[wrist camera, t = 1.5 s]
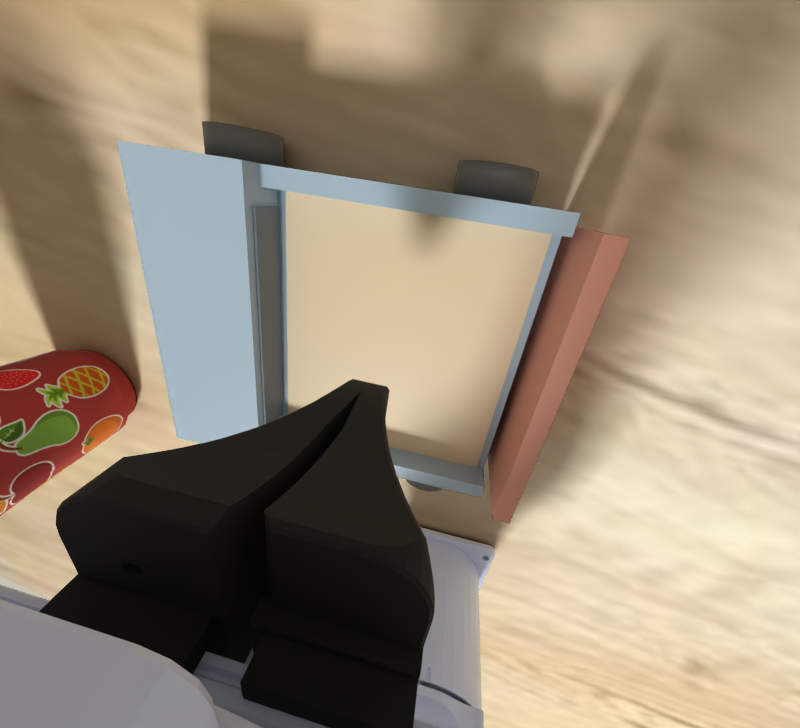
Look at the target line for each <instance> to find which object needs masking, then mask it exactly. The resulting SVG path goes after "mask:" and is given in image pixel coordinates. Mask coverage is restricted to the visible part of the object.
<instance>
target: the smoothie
mask: <svg viewBox="0 0 800 728" xmlns="http://www.w3.org/2000/svg"><path fill="white" fill-rule="evenodd" d="M135 405H136V396H135V392H134V389H133V387H132V384H131V382H130V381H129V379H128V378H127V377H126V375H125V374H124V372H123V371H122V370H121V369H120V368H119V367H118V366H116V365H115V364H114V363H113V362H112V361H110V360H109V359H107V358H106V357H104V356H103V355H100V354H97V353H95V352H92V351H84V350H79V351H74V352H72V351H68V350H55V351H51V352H48V353H44V354H41V355H37V356H34V357H30V358H27V359H23V360H20V361H16V362H13V363H9V364H6V365H2V366H0V516H1V515H2V514H3V513H5V512H6V511H8V510H9V509H10V508H12V507H13V506H14V505H16V504H17V503H19V502H20V501H21V500H23V499H24V498H26V497H27V496H28V495H30V494H31V493H32V492H34V491H35V490H37V489H38V488H39V487H41V486H42V485H44V484H45V483H46V482H48V481H49V480H50V479H52V478H53V477H55V476H56V475H57V474H59V473H60V472H62V471H63V470H64V469H66V468H67V467H68V466H70V465H71V464H73V463H74V462H75V461H77V460H78V459H80V458H81V457H82V456H84V455H85V454H86V453H88V452H89V451H91V450H92V449H93V448H95V447H96V446H98V445H99V444H100V443H102V442H103V441H104V440H106V439H107V438H109V437H110V436H111V435H113V434H114V433H116V432H117V431H118V430H120V429H121V428H122V427H123V426H124V425H125V423H126V420H127V417H128V415H129V414H130V413H132V412H133V411H134V408H135Z"/></svg>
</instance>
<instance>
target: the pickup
mask: <svg viewBox="0 0 800 728" xmlns="http://www.w3.org/2000/svg"><path fill="white" fill-rule="evenodd" d="M202 126H203V136H204V146H205V154H201V153H194V152H188V151H181V150H175V149H168V148H162V147H155V146H149V145H142V144H136V143H130V142H123V141H117V144H118V149H119V153H120V158H121V163H122V168H123V173H124V178H125V183H126V188H127V193H128V198H129V203H130V208H131V213H132V218H133V223H134V228H135V232H136V237H137V242H138V247H139V252H140V257H141V262H142V267H143V272H144V277H145V282H146V287H147V292H148V297H149V302H150V307H151V311H152V316H153V321H154V326H155V331H156V336H157V341H158V346H159V351H160V356H161V361H162V366H163V371H164V376H165V381H166V386H167V390H168V395H169V400H170V405H171V410H172V415H173V420H174V425H175V430H176V435H177V438H181V439H185V440H189V441H193V442H197V443H205V442H209V441H213V440H217V439H221V438H225V437H228V436H231V435H234V434H238V433H241V432H244V431H247V430H250V429H253V428H256V427H259V426H262V425H264V424H267V423H269V422H272V421H275V420H277V419H279V418H282V417H284V416H286V415H288V414H291V413H292V412H294V411H296V410H298V409H300V408H302V407H304V406H306V405H308V404H310V403H312V402H314V401H316V400H318V399H319V398H321V397H323V396H324V395H326V394H328V393H330V392H331V391H333V390H335V389H336V388H338V387H340V386H341V385H343V384H344V383H346V382H348V381H350V380H351V379H355V380H360V381H364V382H369V383H373V384H378V385H383V386H387V387H388V389H389V390H390V391H389V397H388V404H387V411H386V418H385V420H386V432H387V438H388V444H389V449H390V453H391V457H392V461H393V465H394V468H395V471H396V475H397V477H399V478H403V479H406V480H407V482H409V483H410V484H411V485H413V486H414V487H416V488H418V489H421V490H425V491H438V490H442V489H447V490H451V491H455V492H459V493H463V494H467V495H471V496H475V497H479V498H481V495H482V493H483V490H484V470H483V468H484V465H485V462H486V459H487V456H488V453H489V450H490V447H491V445H492V442H493V439H494V436H495V433H496V430H497V427H498V424H499V421H500V418H501V415H502V412H503V409H504V406H505V403H506V400H507V397H508V394H509V391H510V388H511V385H512V382H513V380H514V377H515V374H516V371H517V368H518V365H519V362H520V359H521V356H522V353H523V350H524V347H525V344H526V341H527V338H528V335H529V332H530V329H531V326H532V323H533V320H534V317H535V314H536V312H537V309H538V306H539V303H540V300H541V297H542V294H543V291H544V288H545V285H546V282H547V279H548V276H549V273H550V270H551V267H552V264H553V261H554V258H555V255H556V252H557V249H558V246H559V244H560V241H561V238H562V236H566V237H573V234H574V231H575V228H576V226H577V223H578V220H579V217H580V214H581V213H576V212H569V211H563V210H557V209H550V208H544V207H537V206H531V205H530V204H531V201H532V197H533V194H534V190H535V187H536V183H537V180H538V176H539V172H538V171H536V170H533V169H529V168H525V167H521V166H516V165H510V164H504V163H497V162H488V161H476V160H463V161H459V163H458V168H457V173H456V179H455V184H454V189H453V193H447V192H440V191H434V190H428V189H421V188H415V187H408V186H402V185H395V184H389V183H382V182H376V181H369V180H363V179H357V178H350V177H344V176H337V175H331V174H324V173H318V172H311V171H305V170H298V169H292V168H286V167H284V141H283V138H282V137H280V136H277V135H274V134H271V133H267V132H264V131H259V130H255V129H251V128H246V127H241V126H236V125H230V124H224V123H217V122H207V121H204V122H202Z"/></svg>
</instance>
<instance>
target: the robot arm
mask: <svg viewBox="0 0 800 728" xmlns="http://www.w3.org/2000/svg"><path fill="white" fill-rule="evenodd" d="M389 391H390V390H389V389H388V387H387V386H383V385H378V384H373V383H369V382H364V381H360V380H355V379H351V380H350V381H348V382H346V383H344V384H343V385H341V386H340V387H338V388H336V389H335V390H333V391H331V392H330V393H328V394H326V395H324V396H323V397H321V398H319V399H318V400H316V401H314V402H312V403H310V404H308V405H306V406H304V407H302V408H300V409H298V410H296V411H294V412H292V413H291V414H288V415H286V416H284V417H282V418H279V419H277V420H275V421H272V422H269V423H267V424H264V425H262V426H259V427H256V428H253V429H250V430H247V431H244V432H241V433H238V434H234V435H231V436H228V437H225V438H221V439H217V440H213V441H209V442H205V443H201V444H197V445H192V446H188V447H183V448H178V449H173V450H167V451H161V452H155V453H149V454H143V455H137V456H130V457H123V458H122V459H120V460H119V461H118V462H116V463H115V464H113V465H112V466H111V467H109V468H108V469H107V470H105V471H104V472H103V473H101V474H100V475H98V476H97V477H96V478H94V479H93V480H92V481H90V482H89V483H87V484H86V485H85V486H83V487H82V488H81V489H79V490H78V491H77V492H75V493H74V494H72V495H71V496H70V497H68V498H67V499H66V500H64V501H63V502H62V503H61V505H60V506H59V508H58V509H57V514H56V526H57V529H58V532H59V535H60V537H61V539H62V541H63V543H64V545H65V548H66V550H67V552H68V554H69V556H70V558H71V560H72V562H73V564H74V566H75V568H76V570H77V572H78V575H77V576H76V577H75V578H74V579H72V580H71V581H70V582H69V583H68V584H67V585H66V586H65V587H64V588H63V589H62V590H61V591H60V592H59V593H58V594H57V595H56V596H55V597H53V598H52V599H51V600H50V601H49V600H46V599H42V598H39V597H36V596H33V595H30V594H27V593H24V592H21V591H18V590H15V589H12V588H9V587H5V586H2V585H0V728H484V719H483V710H482V701H481V661H480V621H479V590H480V588H481V585H482V583H483V580H484V578H485V576H486V573H487V571H488V569H489V566H490V564H491V562H492V559H493V557H494V549H493V547H491V546H489V545H486V544H482V543H478V542H475V541H471V540H467V539H463V538H459V537H456V536H452V535H448V534H444V533H440V532H437V531H433V530H429V529H425V528H421V527H420V526H419V525H418V523H417V521H416V519H415V517H414V515H413V513H412V511H411V509H410V507H409V504H408V502H407V500H406V498H405V496H404V493H403V490H402V488H401V485H400V483H399V480H398V477H397V475H396V471H395V468H394V465H393V461H392V457H391V453H390V449H389V444H388V438H387V432H386V420H385V418H386V411H387V404H388V397H389Z"/></svg>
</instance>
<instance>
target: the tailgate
mask: <svg viewBox="0 0 800 728" xmlns="http://www.w3.org/2000/svg"><path fill="white" fill-rule="evenodd" d="M630 240H631V238H627V237H622V236H617V235H612V234H607V233H602V232H597V231H592V230H587V229H581V228H575V231H574V234H573V237H566V236H562V238H561V241H560V244H559V246H558V249H557V252H556V255H555V258H554V261H553V264H552V267H551V270H550V273H549V276H548V279H547V282H546V285H545V288H544V291H543V294H542V297H541V300H540V303H539V306H538V309H537V312H536V314H535V317H534V320H533V323H532V326H531V329H530V332H529V335H528V338H527V341H526V344H525V347H524V350H523V353H522V356H521V359H520V362H519V365H518V368H517V371H516V374H515V377H514V380H513V382H512V385H511V388H510V391H509V394H508V397H507V400H506V403H505V406H504V409H503V412H502V415H501V418H500V421H499V424H498V427H497V430H496V433H495V436H494V439H493V442H492V445H491V447H490V450H489V453H488V465H489V478H490V492H491V505H492V518H493V519H494V520H498V521H502V522H505V523H510V521H511V518H512V516H513V514H514V511H515V509H516V507H517V504H518V502H519V500H520V497H521V495H522V492H523V490H524V488H525V485H526V483H527V481H528V478H529V476H530V474H531V471H532V469H533V467H534V464H535V462H536V460H537V457H538V455H539V453H540V450H541V448H542V446H543V443H544V441H545V439H546V436H547V434H548V432H549V429H550V427H551V425H552V422H553V420H554V418H555V415H556V413H557V411H558V408H559V406H560V404H561V401H562V399H563V397H564V394H565V392H566V390H567V387H568V385H569V382H570V380H571V378H572V375H573V373H574V371H575V368H576V366H577V364H578V361H579V359H580V357H581V354H582V352H583V350H584V347H585V345H586V343H587V340H588V338H589V336H590V333H591V331H592V329H593V326H594V324H595V322H596V319H597V317H598V315H599V312H600V310H601V308H602V305H603V303H604V301H605V298H606V296H607V294H608V291H609V289H610V287H611V284H612V282H613V280H614V277H615V275H616V272H617V270H618V268H619V265H620V263H621V261H622V258H623V256H624V254H625V251H626V249H627V247H628V244H629V242H630Z"/></svg>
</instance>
